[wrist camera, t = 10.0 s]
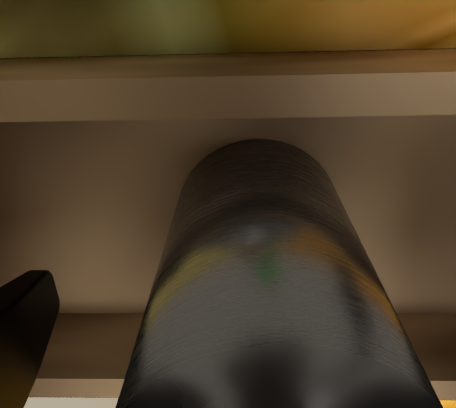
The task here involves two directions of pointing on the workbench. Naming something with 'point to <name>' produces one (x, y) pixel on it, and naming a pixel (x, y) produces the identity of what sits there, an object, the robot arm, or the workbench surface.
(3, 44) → the workbench surface
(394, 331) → the cell
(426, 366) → the trough
